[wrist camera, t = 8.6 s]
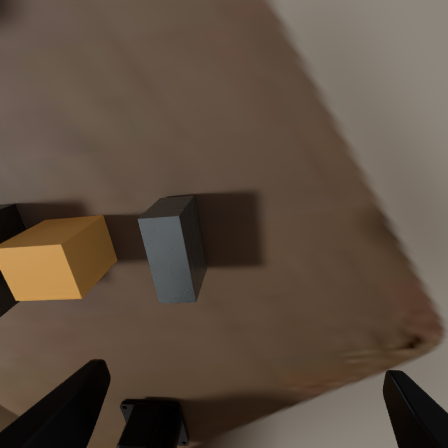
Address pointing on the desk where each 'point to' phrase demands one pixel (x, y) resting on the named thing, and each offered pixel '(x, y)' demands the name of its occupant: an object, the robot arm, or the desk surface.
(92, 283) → the block
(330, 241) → the desk surface
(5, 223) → the block
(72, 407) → the robot arm
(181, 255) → the gray rectangular block
